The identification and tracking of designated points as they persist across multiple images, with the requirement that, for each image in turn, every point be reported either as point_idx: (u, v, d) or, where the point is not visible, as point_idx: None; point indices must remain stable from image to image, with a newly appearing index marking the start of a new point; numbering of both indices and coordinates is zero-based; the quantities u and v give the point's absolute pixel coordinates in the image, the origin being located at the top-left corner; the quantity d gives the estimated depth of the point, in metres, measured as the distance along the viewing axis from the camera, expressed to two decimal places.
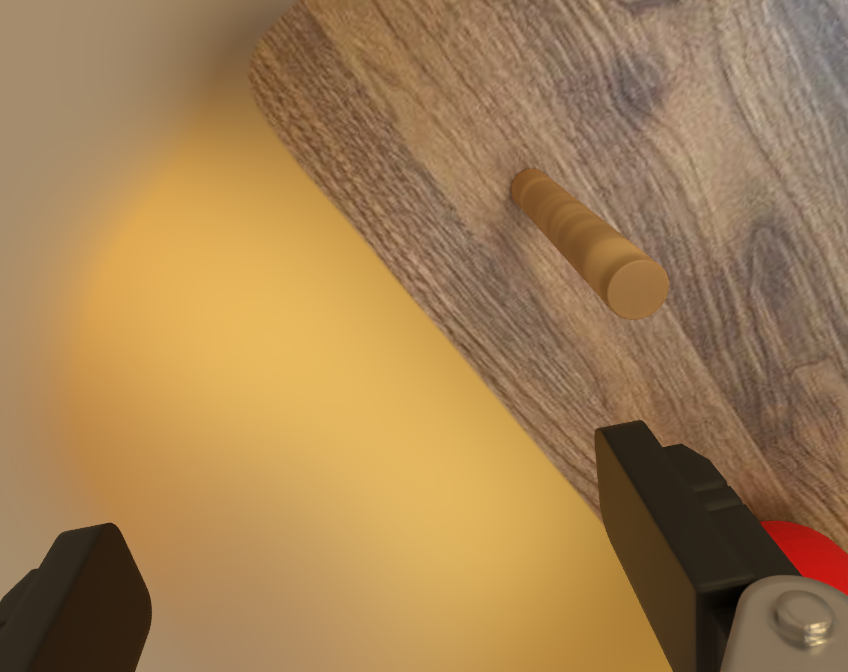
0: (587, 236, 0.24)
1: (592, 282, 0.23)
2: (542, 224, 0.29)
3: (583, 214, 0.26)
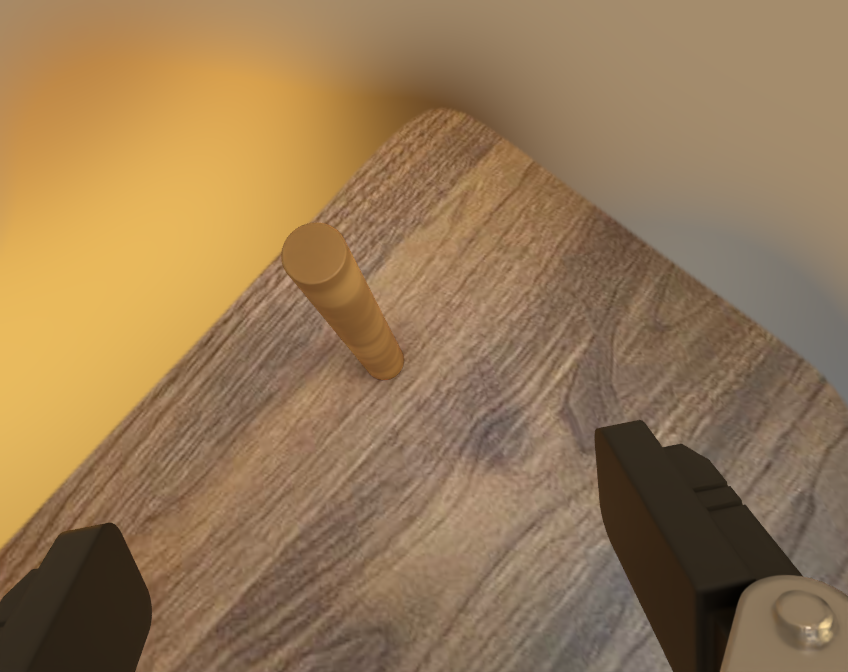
0: None
1: None
2: None
3: (374, 299, 0.26)
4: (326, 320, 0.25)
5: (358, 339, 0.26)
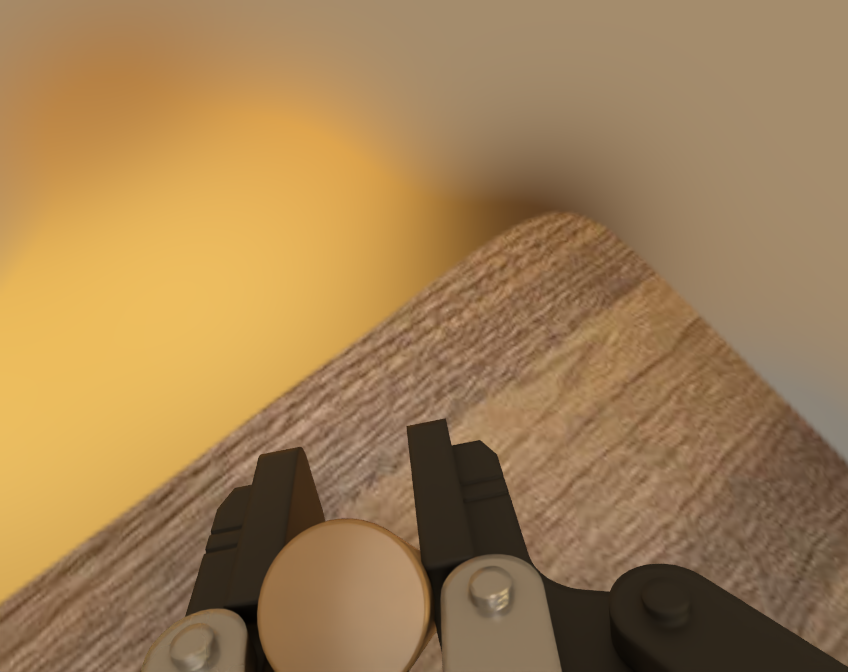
0: None
1: None
2: None
3: None
4: None
5: None
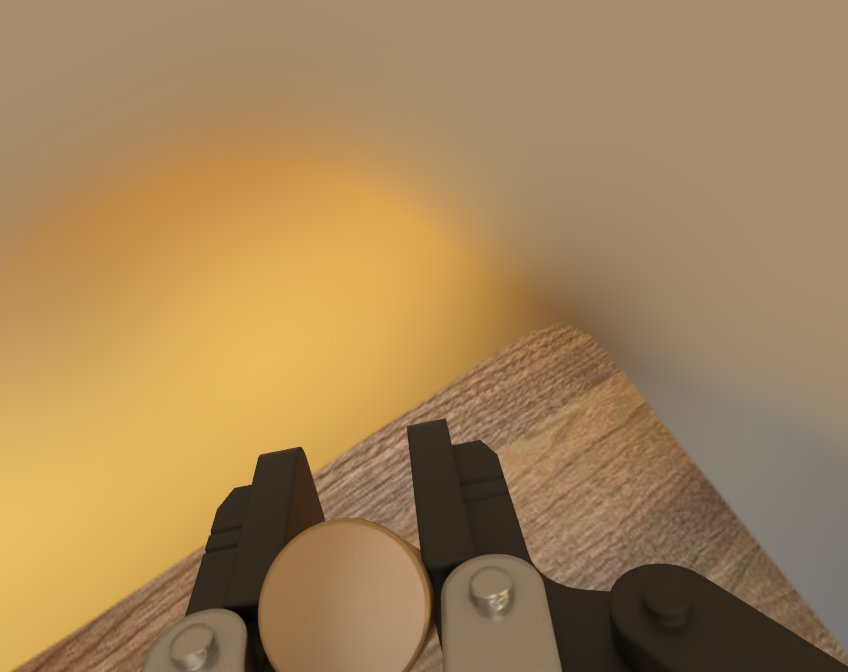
0: None
1: None
2: None
3: None
4: None
5: None
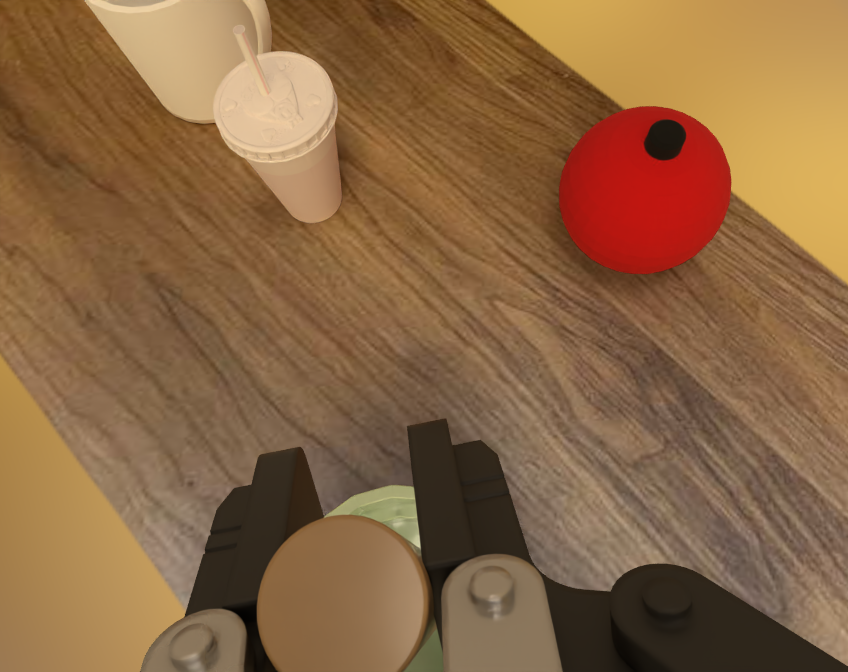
0: None
1: None
2: None
3: None
4: None
5: None
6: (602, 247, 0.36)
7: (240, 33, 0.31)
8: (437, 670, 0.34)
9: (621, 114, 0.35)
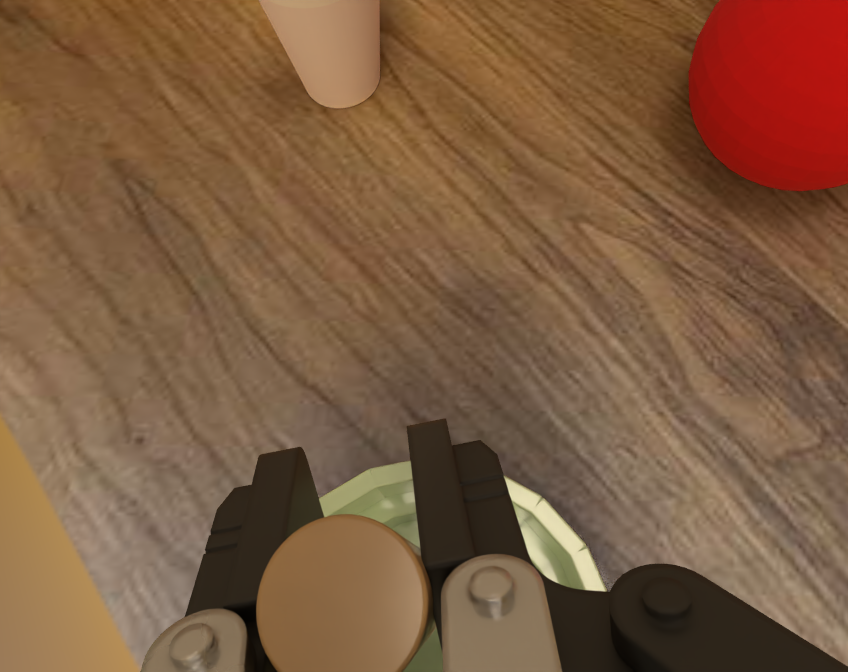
0: None
1: None
2: None
3: None
4: None
5: None
6: (758, 137, 0.24)
7: None
8: None
9: None
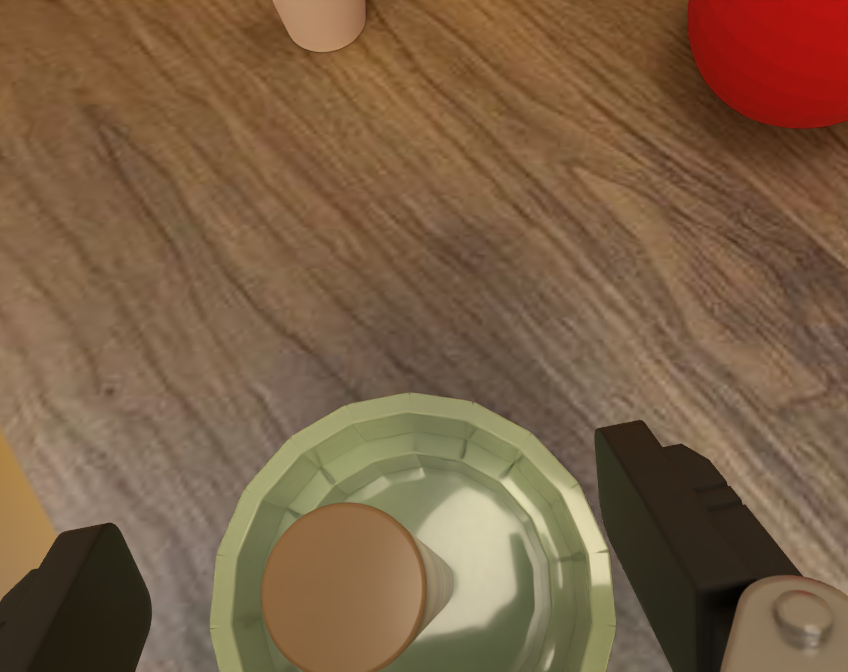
0: (424, 545, 0.11)
1: None
2: None
3: (442, 577, 0.13)
4: None
5: None
6: (762, 65, 0.23)
7: None
8: None
9: None
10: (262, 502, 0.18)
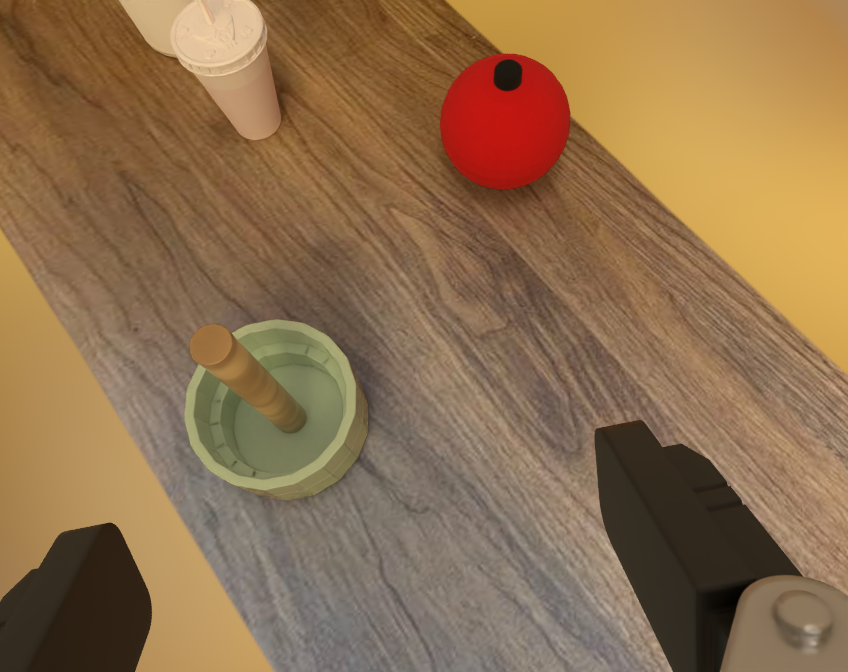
0: (251, 354, 0.34)
1: None
2: None
3: (267, 376, 0.36)
4: None
5: (252, 401, 0.37)
6: (464, 161, 0.46)
7: None
8: None
9: (485, 58, 0.45)
10: None
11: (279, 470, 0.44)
